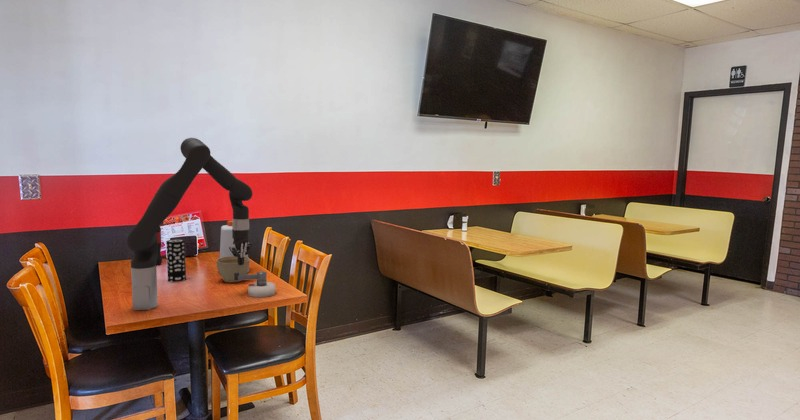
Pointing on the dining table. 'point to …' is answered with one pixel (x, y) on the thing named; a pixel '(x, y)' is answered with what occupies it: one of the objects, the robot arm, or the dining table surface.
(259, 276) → the capstan lever
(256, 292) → the stand
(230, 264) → the planter bowl
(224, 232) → the plastic bottle
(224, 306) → the dining table surface
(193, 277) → the dining table surface
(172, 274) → the spotted tube
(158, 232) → the cola bottle
